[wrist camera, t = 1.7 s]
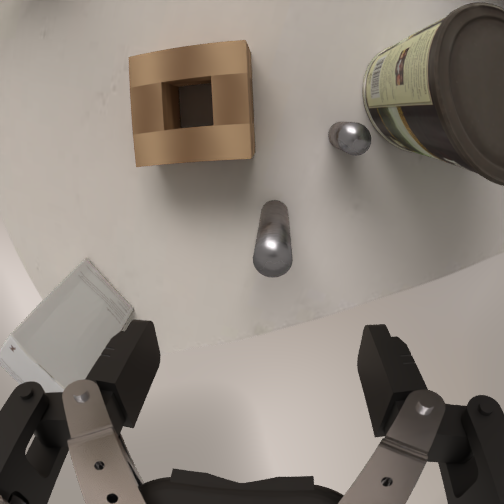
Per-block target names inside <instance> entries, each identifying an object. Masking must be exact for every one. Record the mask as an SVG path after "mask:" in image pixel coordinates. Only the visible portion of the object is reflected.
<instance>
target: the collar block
mask: <svg viewBox="0 0 504 504" xmlns="http://www.w3.org/2000/svg"><path fill="white" fill-rule="evenodd" d="M129 78H130V98H131V114H132V127H133V139H134V150H135V159H136V167H141V166H151V165H161V164H173V163H185V162H199V161H215V160H234V159H251V158H252V157H253V155H254V154H255V134H254V111H253V90H252V69H251V52H250V49H249V47H248V44H247V42H246V40H240V41H227V42H217V43H208V44H200V45H192V46H185V47H179V48H172V49H167V50H161V51H156V52H151V53H146V54H141V55H136V56H132V57H129ZM208 83H211V86H212V106H213V123H214V125H211V126H199V127H188V128H181V121H180V105H179V87H182V86H190V85H198V84H208Z"/></svg>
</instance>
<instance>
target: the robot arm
mask: <svg viewBox="0 0 504 504" xmlns="http://www.w3.org/2000/svg"><path fill="white" fill-rule="evenodd" d="M357 362H358V363H357V366H358V373H359V377H360V380H361V384H362V388H363V392H364V395H365V399H366V403H367V407H368V411H369V415H370V419H371V423H372V427H373V431H374V435H375V437H382V436H385V438H383V439H382V441H381V442H380V444H379V445H378V447H377V448H376V450H375V452H374V453H373V455H372V456H371V458H370V459H369V461H368V462H367V464H366V465H365V467H364V469H363V470H362V471H361V473H360V474H359V476H358V477H357V479H356V480H355V481H354V483H353V484H352V485H351V487H350V488H349V490H348V491H347V492H346V494H345V495H342V494H340V493H339V492H337V491H334V490H332V489H329V488H326V487H322V486H319V485H314V479H313V476H304V477H275V478H270V479H265V480H260V481H254V482H248V483H237V482H233V481H230V480H227V479H224V478H220V477H217V476H214V475H211V474H208V473H202V472H194V471H186V470H179V469H173V471H172V475H171V477H166V478H160V479H156V480H152V481H149V482H147V483H144V482H143V480H142V479H141V477H140V475H139V473H138V471H137V469H136V467H135V465H134V462H133V460H132V458H131V456H130V454H129V451H128V449H127V447H126V445H125V442H124V440H123V438H122V435H121V434H120V432H121V430H122V427H123V426H125V427H130V428H134V426H135V423H136V421H137V418H138V416H139V413H140V410H141V409H142V406H143V404H144V401H145V398H146V396H147V394H148V392H149V389H150V386H151V384H152V382H153V379H154V377H155V375H156V372H157V370H158V368H159V364H160V350H159V346H158V341H157V337H156V332H155V328H154V324H153V322H152V321H144V320H132V321H131V323H130V324H129V326H128V328H127V329H126V331H120V332H119V333H117V334H116V335H115V336H113V337H112V338H111V339H110V341H109V342H108V344H107V345H106V348H105V349H104V350H103V352H102V353H101V356H99V358H98V359H97V361H96V362H95V364H94V366H93V367H92V369H91V370H90V372H89V374H88V375H87V377H86V378H85V379H83V380H77V381H74V382H72V383H71V384H69V385H68V386H67V387H66V388H65V389H64V391H63V392H50V393H45V391H44V389H43V388H42V386H41V385H40V384H39V383H37V382H33V381H29V382H25V383H22V384H20V385H19V386H17V387H16V389H15V390H14V391H13V392H12V394H11V395H10V397H9V398H8V400H7V401H6V403H5V404H4V406H3V407H2V409H1V411H0V504H47V503H48V500H49V498H50V495H51V492H52V490H53V487H54V485H55V482H56V479H57V477H58V475H59V472H60V469H61V467H62V465H63V462H64V460H65V458H66V455H67V453H68V451H70V455H71V459H72V462H73V466H74V469H75V473H76V476H77V479H78V482H79V485H80V489H81V492H82V495H83V497H84V500H85V503H86V504H405V503H406V502H407V500H408V498H409V496H410V494H411V492H412V491H413V488H414V487H415V485H416V483H417V481H418V479H419V477H420V474H421V472H422V470H423V468H424V466H425V464H426V462H427V461H428V462H438V464H439V467H440V471H441V475H442V479H443V484H444V488H445V492H446V496H447V501H448V504H504V413H503V411H502V409H501V407H500V405H499V404H498V402H496V401H495V400H494V399H493V398H491V397H488V396H485V395H478V396H475V397H473V398H472V399H471V400H470V401H469V402H468V405H467V406H460V405H450V404H445V403H444V401H443V399H442V398H441V396H439V395H438V394H437V393H435V392H433V391H430V390H428V389H427V387H426V385H425V382H424V380H423V378H422V376H421V374H420V372H419V369H418V367H417V365H416V363H415V361H414V359H413V357H412V356H411V353H410V351H409V349H408V347H407V345H406V344H405V343H404V342H403V341H402V340H401V339H400V338H398V337H391V336H390V333H389V331H388V329H387V327H386V325H385V324H380V325H366V326H365V327H364V330H363V336H362V340H361V345H360V349H359V354H358V361H357ZM33 433H34V435H35V438H34V440H33V442H32V444H31V446H30V448H29V450H28V452H27V454H26V455H25V450H26V447H27V445H28V443H29V441H30V439H31V437H32V435H33Z"/></svg>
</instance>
